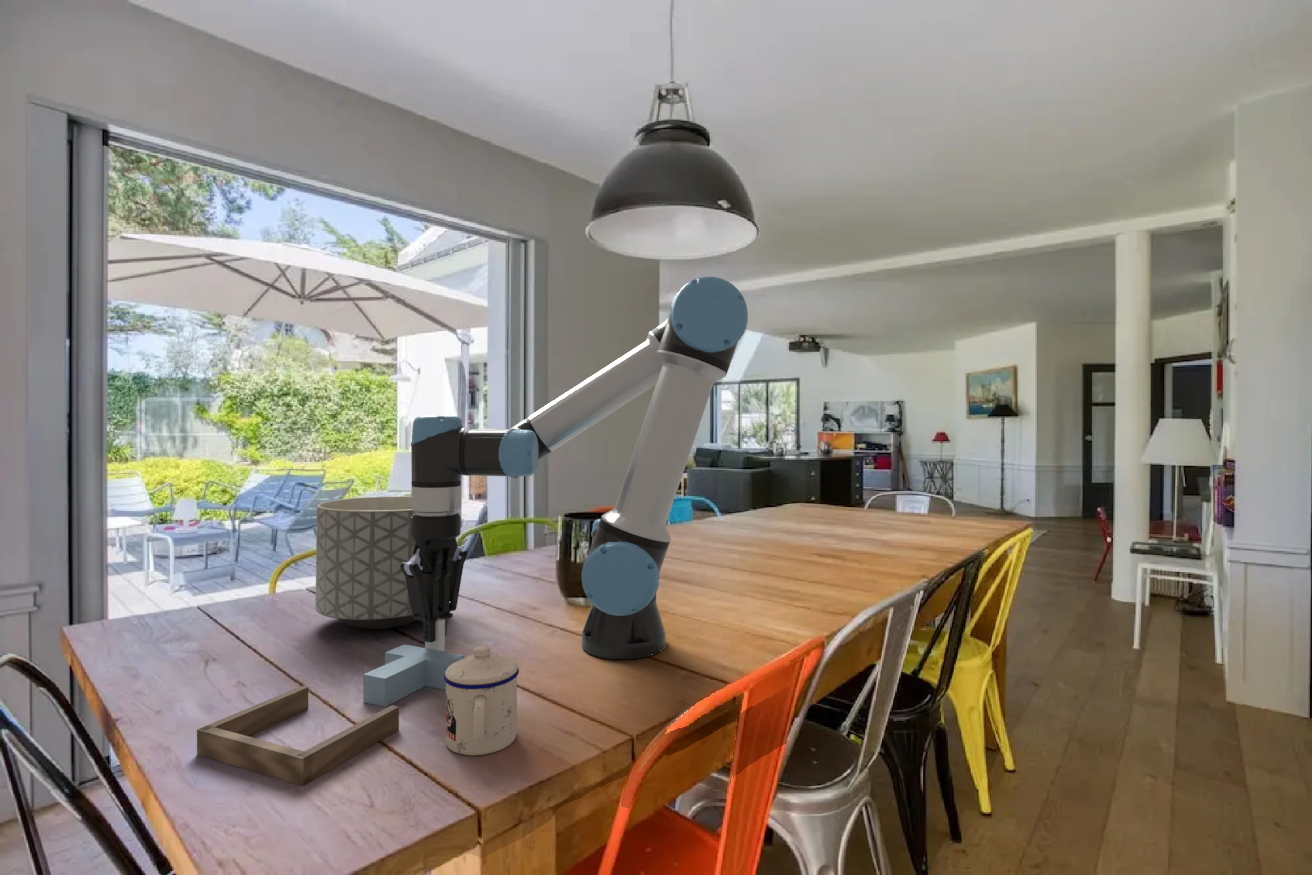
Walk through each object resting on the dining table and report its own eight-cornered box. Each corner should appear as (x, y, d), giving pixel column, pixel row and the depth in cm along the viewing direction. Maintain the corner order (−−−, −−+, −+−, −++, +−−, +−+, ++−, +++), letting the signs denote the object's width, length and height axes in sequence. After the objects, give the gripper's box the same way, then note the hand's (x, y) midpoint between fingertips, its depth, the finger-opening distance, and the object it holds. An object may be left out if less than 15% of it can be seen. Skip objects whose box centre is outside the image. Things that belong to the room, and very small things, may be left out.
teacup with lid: (447, 726, 84) (447, 638, 84) (518, 720, 86) (518, 634, 86) (436, 774, 73) (437, 672, 73) (519, 766, 75) (519, 666, 75)
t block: (464, 680, 100) (464, 654, 100) (407, 711, 89) (407, 683, 89) (404, 668, 104) (404, 644, 104) (342, 697, 93) (342, 670, 93)
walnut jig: (398, 729, 83) (399, 706, 83) (302, 785, 70) (302, 758, 70) (302, 706, 90) (302, 685, 90) (196, 754, 77) (196, 729, 77)
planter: (313, 649, 113) (314, 513, 112) (316, 611, 135) (318, 498, 135) (460, 631, 124) (462, 507, 124) (441, 599, 146) (442, 494, 146)
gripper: (445, 506, 110) (444, 643, 110) (386, 515, 98) (385, 669, 98) (481, 509, 107) (479, 650, 107) (425, 519, 95) (424, 678, 95)
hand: (434, 659), depth 103 cm, fingers closed
